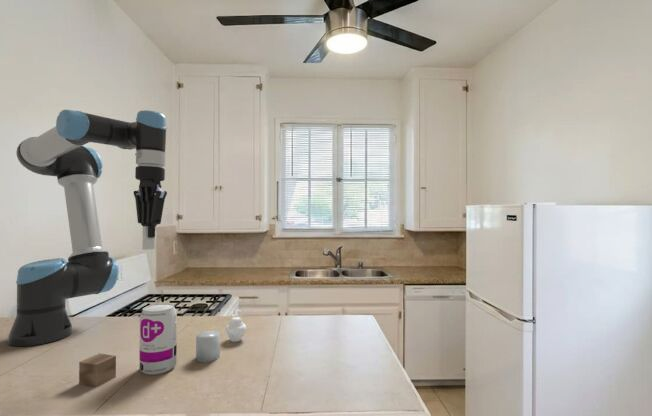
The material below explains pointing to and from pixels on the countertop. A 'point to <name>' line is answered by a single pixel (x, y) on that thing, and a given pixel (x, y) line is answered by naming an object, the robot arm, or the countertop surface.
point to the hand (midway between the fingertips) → (148, 248)
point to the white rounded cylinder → (207, 346)
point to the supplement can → (158, 339)
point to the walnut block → (97, 370)
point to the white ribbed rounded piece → (236, 329)
